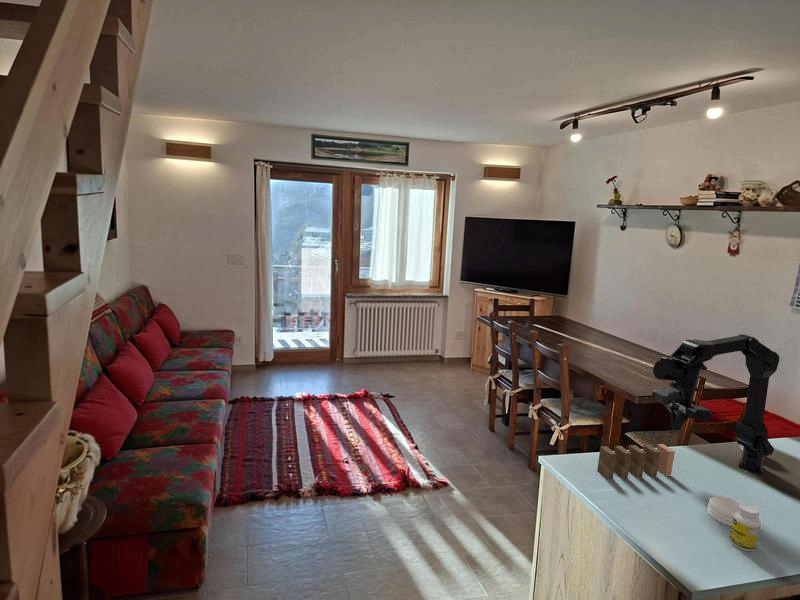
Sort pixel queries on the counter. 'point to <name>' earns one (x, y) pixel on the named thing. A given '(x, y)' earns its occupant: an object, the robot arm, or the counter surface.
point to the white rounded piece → (723, 509)
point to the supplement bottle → (745, 528)
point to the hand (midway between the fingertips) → (674, 430)
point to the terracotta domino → (665, 459)
